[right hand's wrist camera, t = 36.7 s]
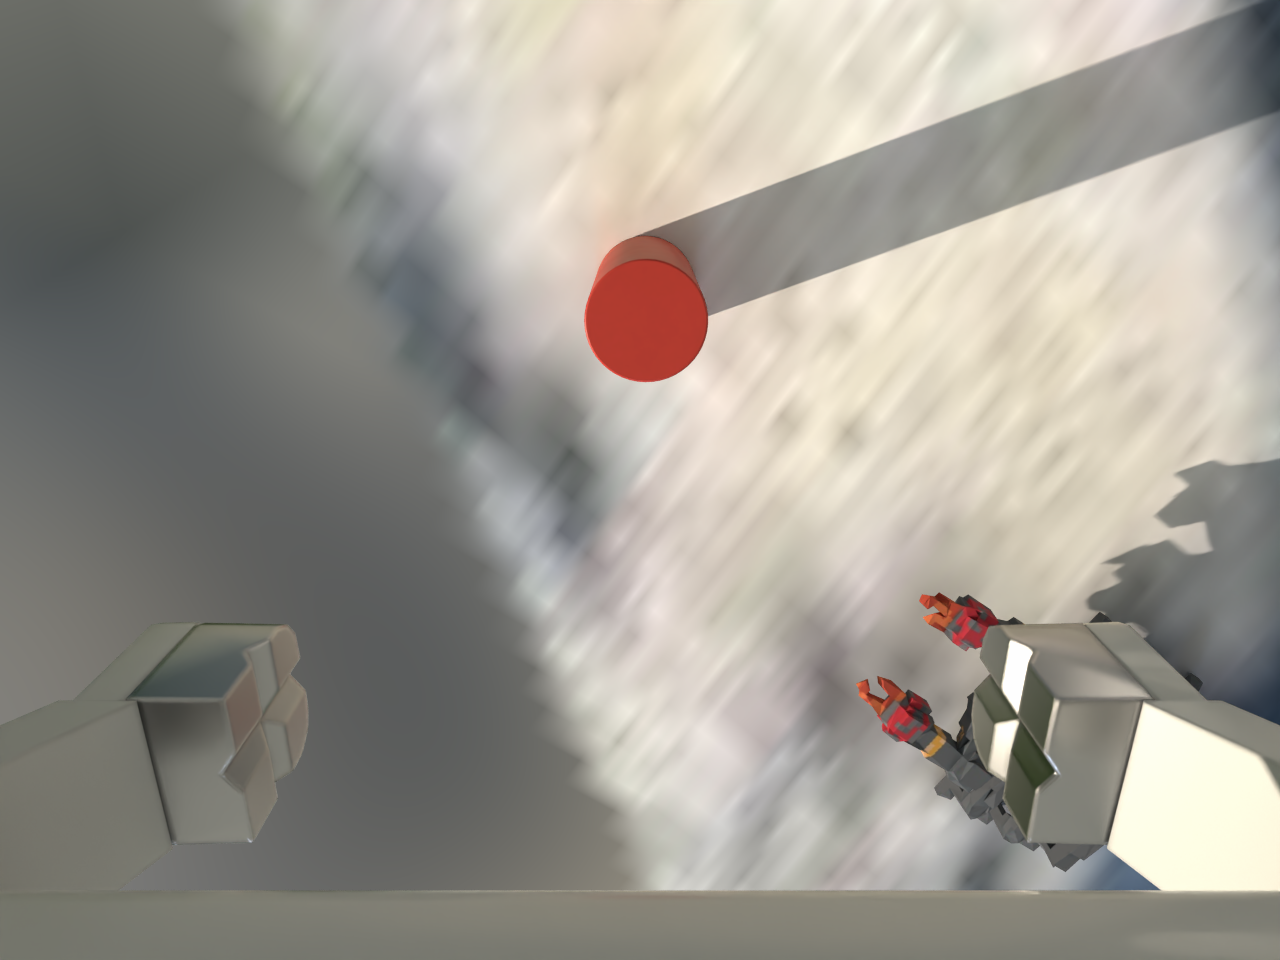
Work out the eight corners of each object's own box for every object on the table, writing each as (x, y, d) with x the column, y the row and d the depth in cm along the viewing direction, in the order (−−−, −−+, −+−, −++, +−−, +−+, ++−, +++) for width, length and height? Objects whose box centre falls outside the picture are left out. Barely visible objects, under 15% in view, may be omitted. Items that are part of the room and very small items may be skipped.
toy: (1137, 907, 52) (1381, 1279, 35) (782, 698, 47) (864, 1017, 30) (1313, 755, 48) (1684, 1091, 31) (946, 508, 43) (1150, 750, 26)
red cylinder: (696, 236, 38) (710, 259, 30) (693, 336, 40) (705, 383, 32) (595, 235, 38) (583, 257, 30) (596, 335, 40) (584, 381, 32)
